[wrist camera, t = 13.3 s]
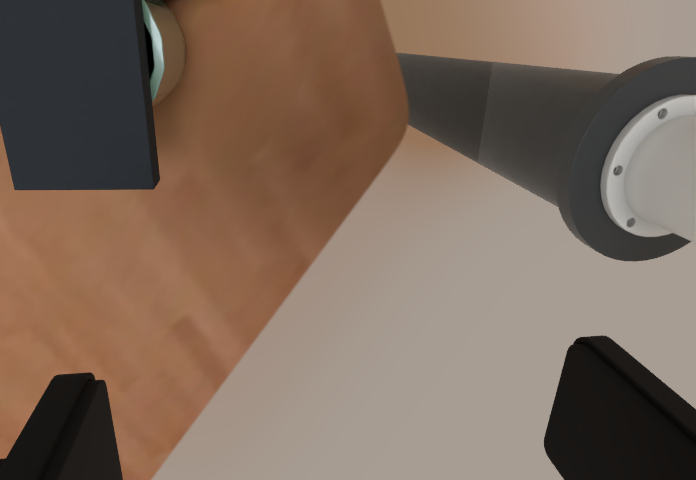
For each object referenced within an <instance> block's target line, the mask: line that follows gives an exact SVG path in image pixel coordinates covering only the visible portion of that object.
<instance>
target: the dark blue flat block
mask: <svg viewBox="0 0 696 480" xmlns="http://www.w3.org/2000/svg"><path fill="white" fill-rule="evenodd" d="M0 126H1V131H2V135H3V140H4V144H5V149H6V153H7V158H8V162H9V166H10V171H11V175H12V180H13V184H14V189H15V190H123V189H154V188H155V187H156V185H157V184H158V182H159V180H160V175H159V166H158V156H157V146H156V136H155V127H154V117H153V107H152V97H151V88H150V78H149V68H148V59H147V49H146V39H145V29H144V20H143V10H142V0H0Z"/></svg>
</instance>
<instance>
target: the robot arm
mask: <svg viewBox="0 0 696 480" xmlns="http://www.w3.org/2000/svg"><path fill="white" fill-rule="evenodd" d="M600 188H601V198H602V202H603V206H604V209H605V211H606V212H607V214H608V216H609V218H610V219H611V220H612V221H613V222H614V223H615V224H616V225H617V226H619V227H621V228H622V229H624V230H626V231H628V232H630V233H632V234H634V235H638V236H643V237H659V236H663V235H668V234H671V233H674V234H676V235H679V236H681V237H683V238H685V239H687V240H689V241H692V242H694V243H696V95H683V94H681V95H676V96H670V97H667V98H664V99H662V100H659V101H657V102H655V103H653V104H652V105H650V106H648V107H647V108H645V109H643V110H642V111H641V112H640V113H638V114H637V115H636V116H635V117H634V118H633V119H631V120H630V122H629V123H628V124H627V125H626V126H625V127H624V128H623V129H622V131H621V132H620V133H619V135H618V136H617V138H616V139H615V141H614V142H613V144H612V146H611V148H610V150H609V152H608V155H607V157H606V159H605V163H604V166H603V170H602V175H601V183H600ZM544 447H545V451H546V453H547V455H548V457H549V459H550V460H551V462H552V463H553V464H554V466H555V467H556V469H557V470H558V472H559V473H560V474H561V476H562V477H563V478H564V480H696V409H695V408H693V407H692V406H691V405H690V404H689V403H687V402H686V401H685V400H684V399H683V398H681V397H680V396H679V395H678V394H677V393H675V392H674V391H673V390H672V389H671V388H669V387H668V386H667V385H666V384H665V383H663V382H662V381H661V380H660V379H659V378H657V377H656V376H655V375H654V374H653V373H651V372H650V371H649V370H648V369H647V368H645V367H644V366H643V365H642V364H641V363H639V362H638V361H637V360H636V359H635V358H633V357H632V356H631V355H630V354H629V353H627V352H626V351H625V350H624V349H623V348H621V347H620V346H619V345H618V344H616V343H615V342H614V341H613V340H612V339H610V338H609V337H607V336H591V337H580V338H577V339H576V341H575V342H574V344H573V345H571V346H570V347H569V349H568V351H567V355H566V358H565V362H564V366H563V369H562V373H561V377H560V381H559V385H558V388H557V392H556V396H555V400H554V404H553V407H552V411H551V415H550V418H549V422H548V426H547V430H546V434H545V437H544ZM0 480H123V478H122V472H121V466H120V461H119V455H118V449H117V444H116V438H115V432H114V426H113V421H112V415H111V409H110V404H109V398H108V392H107V387H106V383H105V381H104V380H95V377H94V375H93V373H77V374H63V375H56V376H54V378H53V379H52V380H51V382H50V384H49V385H48V387H47V389H46V391H45V392H44V394H43V396H42V397H41V399H40V401H39V403H38V404H37V406H36V408H35V409H34V411H33V413H32V415H31V416H30V418H29V420H28V421H27V423H26V425H25V427H24V428H23V430H22V432H21V434H20V435H19V437H18V439H17V440H16V442H15V444H14V446H13V447H12V449H11V451H10V452H9V454H8V456H7V458H6V459H0Z"/></svg>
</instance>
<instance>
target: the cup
mask: <svg viewBox="0 0 696 480" xmlns="http://www.w3.org/2000/svg"><path fill="white" fill-rule="evenodd" d="M142 10H143V20H144V29H145V39H146V49H147V59H148V68H149V78H150V88H151V97H152V107H154V106H155V105H157V104H158V103H159V102H161V101H162V100H163V99H164V98H165V97H166V96H167V95H168V94H169V93H170V92H171V91H172V90H173V89H174V88H175V87H176V86H177V84H178V82H179V80H180V78H181V75H182V73H183V69H184V66H185V58H186V49H185V42H184V37H183V34H182V31H181V28H180V26H179V23H178V21H177V20H176V18H175V16H174V14H173V13H172V12H171V10H170V9H169V8H168V6H167V5H166V4H165V3H164V2H163V1H162V0H142Z"/></svg>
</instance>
